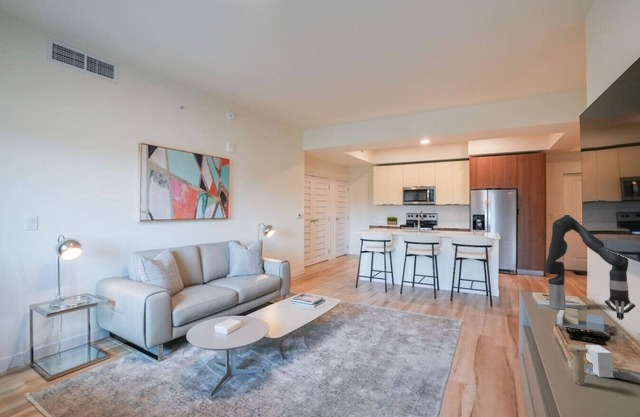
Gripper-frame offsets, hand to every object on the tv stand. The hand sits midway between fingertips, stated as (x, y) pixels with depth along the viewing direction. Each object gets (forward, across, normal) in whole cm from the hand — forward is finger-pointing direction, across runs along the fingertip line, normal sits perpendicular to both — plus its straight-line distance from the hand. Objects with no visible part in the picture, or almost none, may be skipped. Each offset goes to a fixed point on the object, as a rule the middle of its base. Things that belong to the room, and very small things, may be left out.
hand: (620, 319), depth 170 cm
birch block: (+7, -21, 0) cm, 22 cm away
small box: (+9, -8, -61) cm, 62 cm away
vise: (+8, -17, 0) cm, 19 cm away
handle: (+9, -13, -77) cm, 78 cm away
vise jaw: (+6, -11, 0) cm, 12 cm away
